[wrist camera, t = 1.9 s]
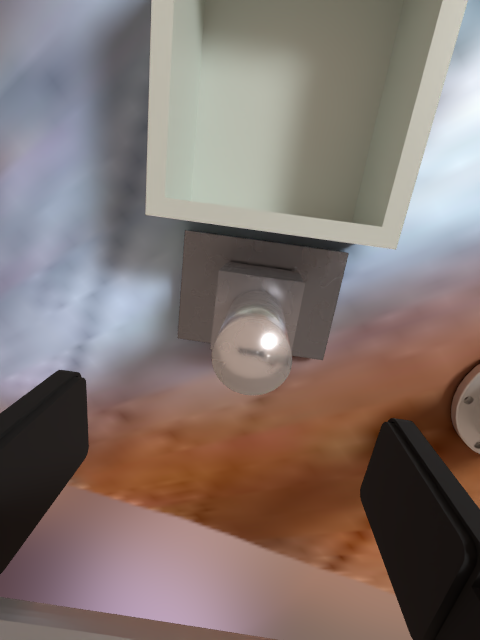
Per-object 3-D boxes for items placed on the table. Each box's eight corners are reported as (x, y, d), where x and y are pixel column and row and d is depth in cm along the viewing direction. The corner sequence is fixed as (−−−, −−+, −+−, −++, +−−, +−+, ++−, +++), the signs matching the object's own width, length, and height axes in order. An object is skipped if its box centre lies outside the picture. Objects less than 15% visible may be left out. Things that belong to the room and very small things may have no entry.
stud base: (344, 251, 27) (366, 260, 21) (320, 353, 30) (334, 386, 24) (189, 230, 27) (167, 232, 21) (181, 332, 30) (161, 359, 24)
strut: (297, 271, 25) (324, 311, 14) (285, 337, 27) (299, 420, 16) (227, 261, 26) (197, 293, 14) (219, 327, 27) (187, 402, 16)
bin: (424, -26, 21) (516, -170, 13) (358, 241, 26) (396, 249, 19) (195, -50, 21) (157, -202, 14) (179, 217, 27) (145, 214, 19)
